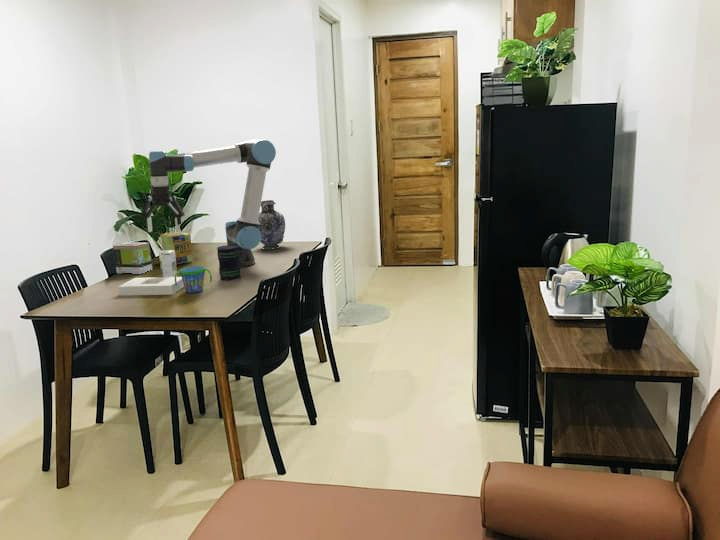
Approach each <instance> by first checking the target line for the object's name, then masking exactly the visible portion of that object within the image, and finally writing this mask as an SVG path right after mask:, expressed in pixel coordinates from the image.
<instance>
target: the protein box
mask: <svg viewBox="0 0 720 540" xmlns="http://www.w3.org/2000/svg"><path fill="white" fill-rule="evenodd" d="M160 238H161V239H160V241H161V247H162V251H165V250H174V251H175V257H176V266H177V265H178V264H179V265H184V264H188V263H189V264H190V263H193V262H194V256H193V247H192V239H191V233H187V232H184V231H183V232H182V231H180V232H176V231H171V232H165V233H160ZM183 263H184V264H183Z"/></svg>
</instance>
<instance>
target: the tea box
mask: <svg viewBox="0 0 720 540" xmlns="http://www.w3.org/2000/svg"><path fill="white" fill-rule="evenodd" d="M112 248H113V255H114V262H115V269H116V274H122V273H132V274H131V275H143V274H145V272H146V273H148V272H147V271H149V272H151V271H153V263H152V255H151V247H150V242H136V241H135V242H129V241H128V242H127V241H126V242H122V243H118V244H114V245H112ZM150 270H151V271H150ZM142 273H143V274H142Z"/></svg>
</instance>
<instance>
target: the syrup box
mask: <svg viewBox="0 0 720 540" xmlns="http://www.w3.org/2000/svg"><path fill="white" fill-rule="evenodd" d="M158 257H159V265H160V266H159V268H160V275H161V276H160V277H175V274H176V273H177V272H178V269H177V268H178V267H177V265H176V257H175V251H174V250H165V251H163V250H162V251H160V252H159V253H158ZM176 277H178V274H177V275H176Z"/></svg>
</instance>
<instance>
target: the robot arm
mask: <svg viewBox="0 0 720 540" xmlns="http://www.w3.org/2000/svg"><path fill="white" fill-rule="evenodd" d="M276 151H277V150H276V148H275V146H274V144H273V143H272V142H271V141H270V140H267V139H264V138H258V139H250V140H247V141H243V142H240V143H239V142H238V143H235V144H234V145H232V146H227V147H226V146H224V147H221V148H220V147H219V148H212V149H205V150H199V151H190V152H185V153H177V154H170V155H167V152H166V151H163V150H162V151H160V150H159V151H150V152H149V153H148V163H149V172H150V174H149V175H150V182H151V183H150V185H151V194H152V196H151V195H148V196H145V202H144V206H143V207H142V208H143V209H142V211H141V213H140V217H143V218H144V219H145V225H146V226H147V232H148V233H152V232H153V221H152V217H151V215H152V213H153V212H154V211H155V210H156V208H157V207H167V208H168V210H170V212H171V213H172V214H173V215H174V216H175V218H174V224H175V232H181V227H180V225H181V224H182V217H184V216H185V212H184V210H183V209H182V207H181V205H180V203H179V201H178V198H177V196H176V195H173V196H170V186H169V184H170V183H169V176H168V175H169V174H168V173H181V172H182V173H183V172H186V173H188V172H193V171H194V169H195V168H201V167H202V168H203V167H207V166H208V167H209V166H214V165H221V164H222V165H223V164H228V163H229V164H230V163H234V162H237V163H238V164H243V163H246V164H245V165H246V166H247V168H248V173H247V178H246V184H245V189H244V196H243V200H242V201H243V202H242V207H241V212H240V217H239V218H237V219H236V220H231V221H226V223H225V228H224V229H225V237H226V245H237V246H238V251H239V266H240V268H241V267H242V268H243V266H245V267H248V265H250V266H252V264H253V265H255V264H256V259H255V256H254V253H253V251H252V249H255V248H256V247H258V246H259V245H260V243H261V242H260V241H261V233H260V231H259V229H260V222H259V221H258V217H259V213H260V210H261V201H263V200H262V198H263V195H264V194H263V193H264V187H265V182H266V175H267V172H268V171H270V170H271V165H272V162H273V161H274V160H275V157H276V155H277V153H276ZM152 201H153V203H152V204H151V202H152ZM170 201H171V202H172V203H171V202H170ZM150 205H151V206H150ZM173 205H174V206H173ZM149 207H150V208H149ZM254 263H255V264H254Z"/></svg>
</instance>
